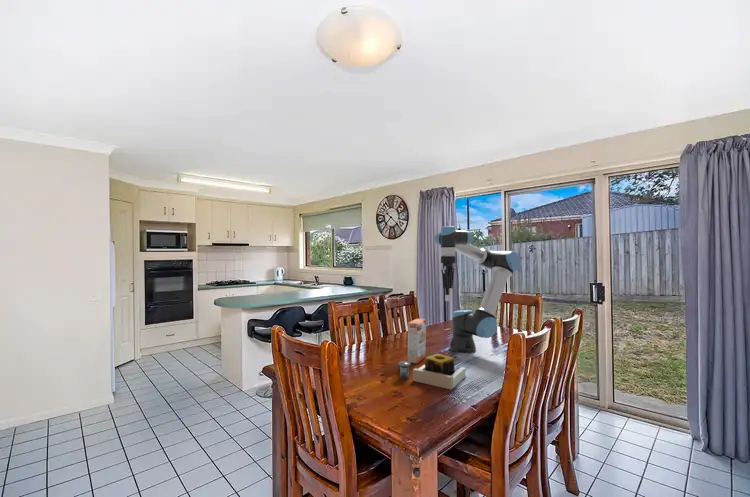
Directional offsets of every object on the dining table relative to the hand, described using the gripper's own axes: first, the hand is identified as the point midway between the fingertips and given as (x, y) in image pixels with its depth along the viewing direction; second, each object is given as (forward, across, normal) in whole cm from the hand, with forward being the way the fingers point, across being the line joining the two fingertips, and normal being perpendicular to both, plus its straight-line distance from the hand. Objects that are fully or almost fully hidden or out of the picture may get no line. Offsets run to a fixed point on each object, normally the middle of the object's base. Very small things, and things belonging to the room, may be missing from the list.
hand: (448, 300), depth 181 cm
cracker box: (+33, +4, -16) cm, 37 cm away
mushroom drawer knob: (+32, +31, -9) cm, 46 cm away
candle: (+33, +24, +5) cm, 41 cm away
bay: (+32, +22, +5) cm, 39 cm away
